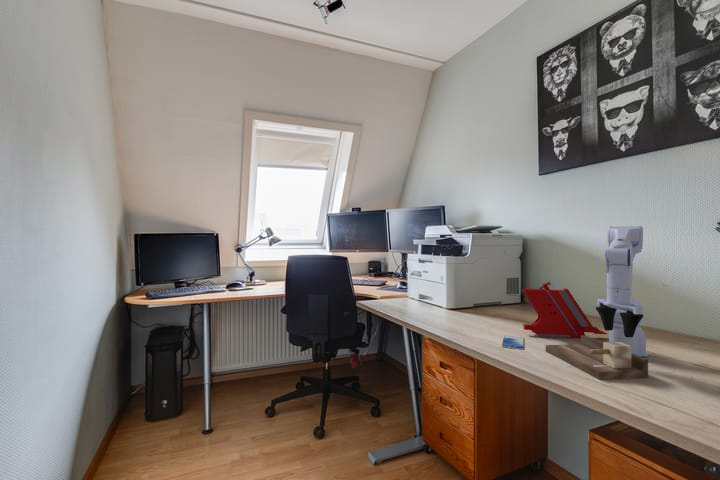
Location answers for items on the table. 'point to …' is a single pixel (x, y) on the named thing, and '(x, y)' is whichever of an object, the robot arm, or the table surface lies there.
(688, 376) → the table surface
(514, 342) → the smartphone
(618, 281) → the robot arm
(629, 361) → the beige block with rod
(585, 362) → the board
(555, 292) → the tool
